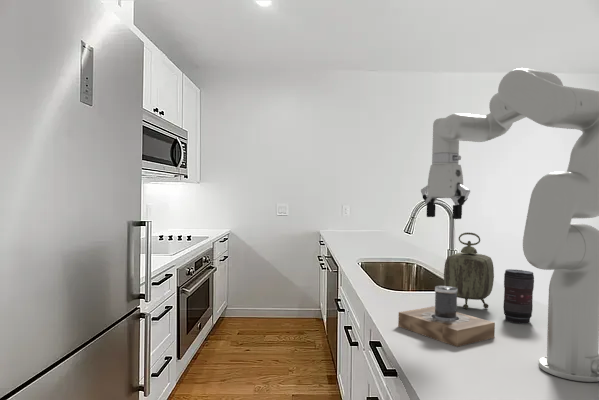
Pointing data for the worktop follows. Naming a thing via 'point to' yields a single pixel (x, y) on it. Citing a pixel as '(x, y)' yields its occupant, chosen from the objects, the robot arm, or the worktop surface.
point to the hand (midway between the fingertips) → (443, 217)
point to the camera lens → (518, 295)
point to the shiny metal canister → (445, 303)
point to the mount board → (447, 326)
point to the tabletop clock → (469, 273)
